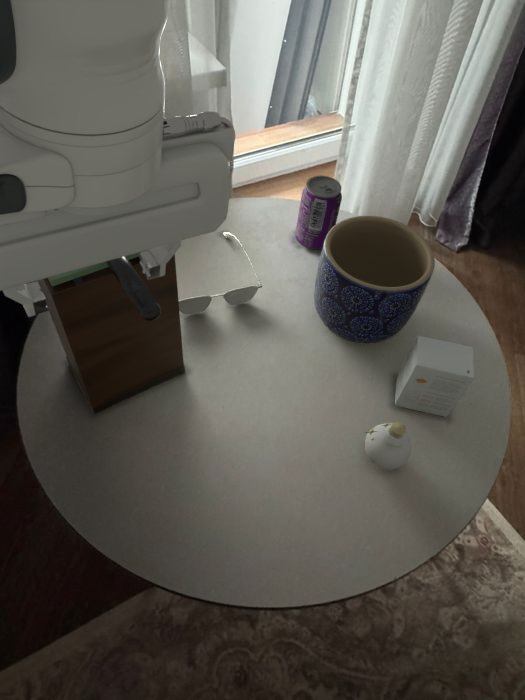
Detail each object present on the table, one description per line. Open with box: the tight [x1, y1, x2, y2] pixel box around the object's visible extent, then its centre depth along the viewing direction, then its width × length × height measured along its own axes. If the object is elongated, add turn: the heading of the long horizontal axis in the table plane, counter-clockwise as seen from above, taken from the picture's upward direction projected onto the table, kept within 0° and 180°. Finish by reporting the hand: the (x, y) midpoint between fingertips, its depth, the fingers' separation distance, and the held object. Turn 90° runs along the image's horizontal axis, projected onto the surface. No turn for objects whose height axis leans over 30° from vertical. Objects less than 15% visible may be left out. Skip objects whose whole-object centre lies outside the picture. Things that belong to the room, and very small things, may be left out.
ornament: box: [364, 421, 412, 470], centre depth 66 cm, size 6×7×10 cm
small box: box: [394, 335, 475, 418], centre depth 72 cm, size 8×6×10 cm
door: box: [48, 250, 161, 321], centre depth 52 cm, size 20×13×3 cm, turn 33°
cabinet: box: [37, 253, 186, 415], centre depth 66 cm, size 10×14×25 cm
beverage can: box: [294, 175, 343, 250], centre depth 92 cm, size 7×7×12 cm
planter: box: [313, 215, 436, 345], centre depth 80 cm, size 16×17×15 cm
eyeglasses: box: [178, 231, 263, 315], centre depth 87 cm, size 15×18×4 cm
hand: (96, 289), depth 40 cm, fingers open, 8 cm apart
